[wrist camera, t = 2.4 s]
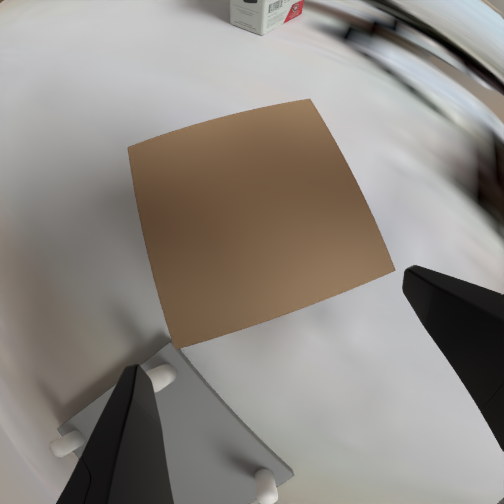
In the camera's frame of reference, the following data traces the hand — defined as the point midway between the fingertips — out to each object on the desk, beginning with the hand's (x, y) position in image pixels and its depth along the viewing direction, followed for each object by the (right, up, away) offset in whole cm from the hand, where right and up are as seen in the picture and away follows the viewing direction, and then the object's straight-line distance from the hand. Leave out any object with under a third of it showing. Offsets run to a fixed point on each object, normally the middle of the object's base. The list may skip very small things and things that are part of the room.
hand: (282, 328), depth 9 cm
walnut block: (-1, 0, +10) cm, 10 cm away
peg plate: (-7, -12, +7) cm, 15 cm away
